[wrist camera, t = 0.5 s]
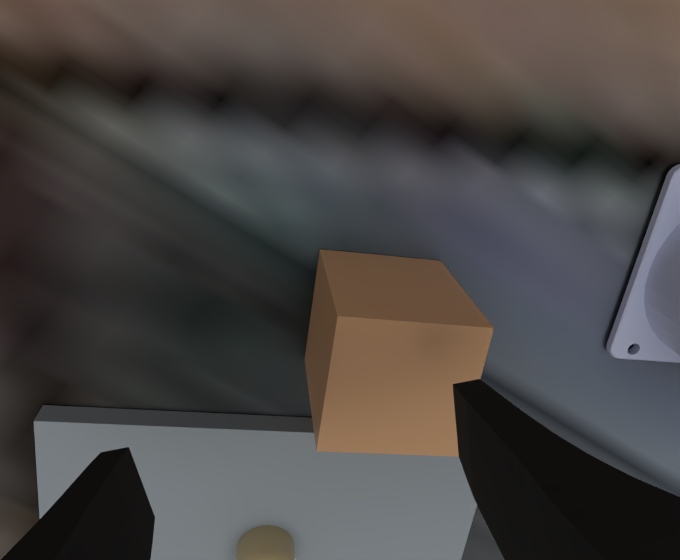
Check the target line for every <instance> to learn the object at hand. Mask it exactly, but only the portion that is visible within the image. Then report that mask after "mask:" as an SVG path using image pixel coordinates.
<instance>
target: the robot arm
mask: <svg viewBox="0 0 680 560" xmlns="http://www.w3.org/2000/svg"><path fill="white" fill-rule="evenodd" d="M632 344H634V346H633V347H632V348H631V349H629V350H628V348H629V346H630V345H632ZM606 348H607V351H608V352H609V353H610V354H611V355H612V356H613V357H615V358H618V359H632V360H647V361H661V362H675V363H680V164H678V165H676V166H674V167H673V168H671V169H670V170H669V172H668V174H667V176H666V178H665V181H664V184H663V187H662V189H661V192H660V195H659V198H658V201H657V204H656V206H655V209H654V212H653V215H652V218H651V221H650V223H649V226H648V229H647V232H646V235H645V237H644V240H643V243H642V246H641V249H640V252H639V254H638V257H637V260H636V263H635V266H634V268H633V271H632V274H631V277H630V280H629V283H628V285H627V288H626V291H625V294H624V297H623V300H622V302H621V305H620V308H619V311H618V314H617V316H616V319H615V322H614V325H613V328H612V331H611V333H610V336H609V339H608V342H607V346H606ZM453 395H454V407H455V418H456V430H457V441H458V453H459V459H460V461H461V464H462V467H463V470H464V473H465V476H466V478H467V481H468V484H469V487H470V489H471V492H472V495H473V497H474V499H475V501H476V503H477V505H478V507H479V509H480V511H481V513H482V515H483V517H484V519H485V521H486V523H487V525H488V527H489V529H490V531H491V533H492V535H493V537H494V539H495V541H496V543H497V545H498V547H499V549H500V551H501V553H502V555H503V557H504V559H505V560H680V497H678V496H676V495H674V494H671V493H669V492H666V491H664V490H662V489H659V488H657V487H654V486H652V485H650V484H647V483H645V482H643V481H641V480H638V479H636V478H634V477H632V476H630V475H628V474H626V473H624V472H622V471H620V470H618V469H616V468H614V467H612V466H610V465H608V464H606V463H604V462H602V461H600V460H598V459H596V458H595V457H593V456H591V455H589V454H587V453H586V452H584V451H582V450H581V449H579V448H577V447H576V446H574V445H572V444H571V443H569V442H567V441H566V440H564V439H562V438H561V437H559V436H558V435H556V434H554V433H553V432H551V431H550V430H549V429H547V428H546V427H544V426H543V425H541V424H540V423H538V422H537V421H535V420H534V419H533V418H531V417H530V416H528V415H527V414H526V413H524V412H523V411H521V410H520V409H519V408H517V407H516V406H515V405H513V404H512V403H511V402H509V401H508V400H507V399H505V398H504V397H503V396H501V395H500V394H499V393H497V392H496V391H495V390H494V389H492V388H491V387H490V386H488V385H487V384H486V383H484V382H483V381H481V380H480V379H476V380H471V381H466V382H461V383H456V384H453ZM154 523H155V516H154V513H153V511H152V508H151V505H150V502H149V500H148V497H147V494H146V492H145V489H144V486H143V484H142V481H141V478H140V476H139V473H138V470H137V468H136V465H135V462H134V459H133V457H132V454H131V451H130V449H129V447H126V448H121V449H115V450H110V451H105V452H101V453H100V454H99V455H98V456H97V457H96V458H95V459H94V460H93V461H92V462H91V463H90V464H89V465H88V466H87V467H86V469H85V470H84V471H83V472H82V473H81V474H80V475H79V476H78V478H77V479H76V480H75V481H74V482H73V483H72V484H71V485H70V487H69V488H68V489H67V490H66V491H65V492H64V493H63V494H62V496H61V497H60V498H59V499H58V500H57V501H56V502H55V503H54V504H53V505H52V507H51V508H50V509H49V510H48V511H47V512H46V513H45V514H44V515H43V517H42V518H41V519H40V520H39V521H38V522H37V523H36V524H35V525H34V526H33V527H32V528H31V529H30V530H29V531H28V532H27V534H26V535H25V536H24V537H23V538H22V539H21V540H20V541H19V542H18V543H17V544H16V545H15V546H14V547H13V548H12V549H11V550H10V551H9V552H8V553H7V554H6V555H5V556H4V557H3V558H2V559H1V560H150V559H151V551H152V543H153V533H154Z"/></svg>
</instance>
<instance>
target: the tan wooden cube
mask: <svg viewBox="0 0 680 560" xmlns="http://www.w3.org/2000/svg"><path fill="white" fill-rule="evenodd" d="M493 331H494V327H493V326H492V325H491V324H490V322H489V321H488V320H487V319H486V317H485V316H484V315H483V313H482V312H481V311H480V310H479V308H478V307H477V306H476V305H475V303H474V302H473V301H472V300H471V298H470V297H469V296H468V295H467V293H466V292H465V291H464V289H463V288H462V287H461V286H460V284H459V283H458V282H457V281H456V279H455V278H454V277H453V276H452V274H451V273H450V272H449V271H448V269H447V268H446V267H445V265H444V264H443V263H442V262H441V261H438V260H428V259H417V258H407V257H396V256H386V255H375V254H365V253H355V252H344V251H334V250H323V249H320V251H319V258H318V266H317V273H316V280H315V287H314V295H313V302H312V309H311V316H310V324H309V331H308V338H307V345H306V352H305V367H306V375H307V382H308V390H309V398H310V406H311V414H312V421H313V429H314V437H315V445H316V451H319V452H346V453H373V454H400V455H427V456H454V457H459V453H458V441H457V430H456V418H455V407H454V395H453V384H456V383H461V382H466V381H471V380H476V379H481V375H482V371H483V368H484V364H485V360H486V356H487V353H488V349H489V345H490V342H491V338H492V334H493Z"/></svg>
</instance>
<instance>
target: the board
mask: <svg viewBox="0 0 680 560" xmlns="http://www.w3.org/2000/svg"><path fill="white" fill-rule="evenodd" d="M34 434H35V451H36V467H37V483H38V499H39V515H40V519H41V518H42V517H43V515H44V514H45V513H46V512H47V511H48V510H49V509H50V508H51V507H52V505H53V504H54V503H55V502H56V501H57V500H58V499H59V498H60V497H61V496H62V494H63V493H64V492H65V491H66V490H67V489H68V488H69V487H70V485H71V484H72V483H73V482H74V481H75V480H76V479H77V478H78V476H79V475H80V474H81V473H82V472H83V471H84V470H85V469H86V467H87V466H88V465H89V464H90V463H91V462H92V461H93V460H94V459H95V458H96V457H97V456H98V455H99V454H100V453H101V452H105V451H110V450H115V449H121V448H126V447H129V449H130V451H131V454H132V457H133V459H134V462H135V465H136V468H137V470H138V473H139V476H140V478H141V481H142V484H143V486H144V489H145V492H146V494H147V497H148V500H149V502H150V505H151V508H152V511H153V513H154V516H155V523H154V533H153V543H152V551H151V559H150V560H461V558H462V554H463V551H464V548H465V544H466V541H467V537H468V534H469V531H470V527H471V524H472V520H473V517H474V514H475V510H476V507H477V503H476V501H475V499H474V497H473V495H472V492H471V489H470V487H469V484H468V481H467V478H466V476H465V473H464V470H463V467H462V464H461V461H460V459H459V457H454V456H427V455H400V454H373V453H346V452H319V451H316V445H315V437H314V429H313V421H312V418H309V417H288V416H266V415H245V414H224V413H202V412H181V411H160V410H138V409H117V408H96V407H74V406H53V405H43V406H42V408H41V410H40V411H39V413H38V415H37V416H36V418H35V420H34Z"/></svg>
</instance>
